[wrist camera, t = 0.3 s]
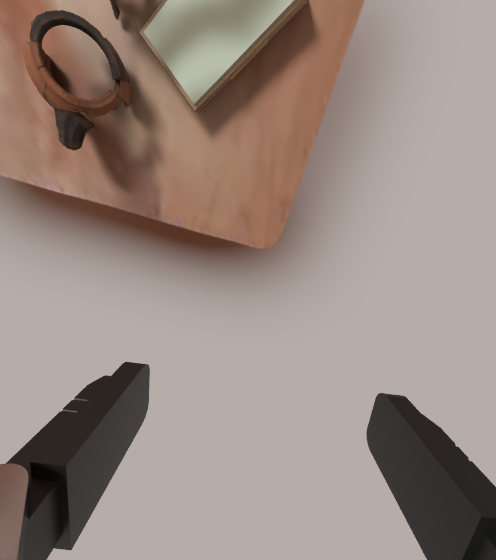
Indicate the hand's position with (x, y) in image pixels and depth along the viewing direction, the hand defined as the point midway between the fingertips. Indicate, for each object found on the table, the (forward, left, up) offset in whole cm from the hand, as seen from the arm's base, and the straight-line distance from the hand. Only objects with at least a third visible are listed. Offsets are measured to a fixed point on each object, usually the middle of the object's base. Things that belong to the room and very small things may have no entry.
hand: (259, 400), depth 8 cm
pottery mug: (-22, -9, -30) cm, 39 cm away
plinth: (-17, +7, -30) cm, 35 cm away
